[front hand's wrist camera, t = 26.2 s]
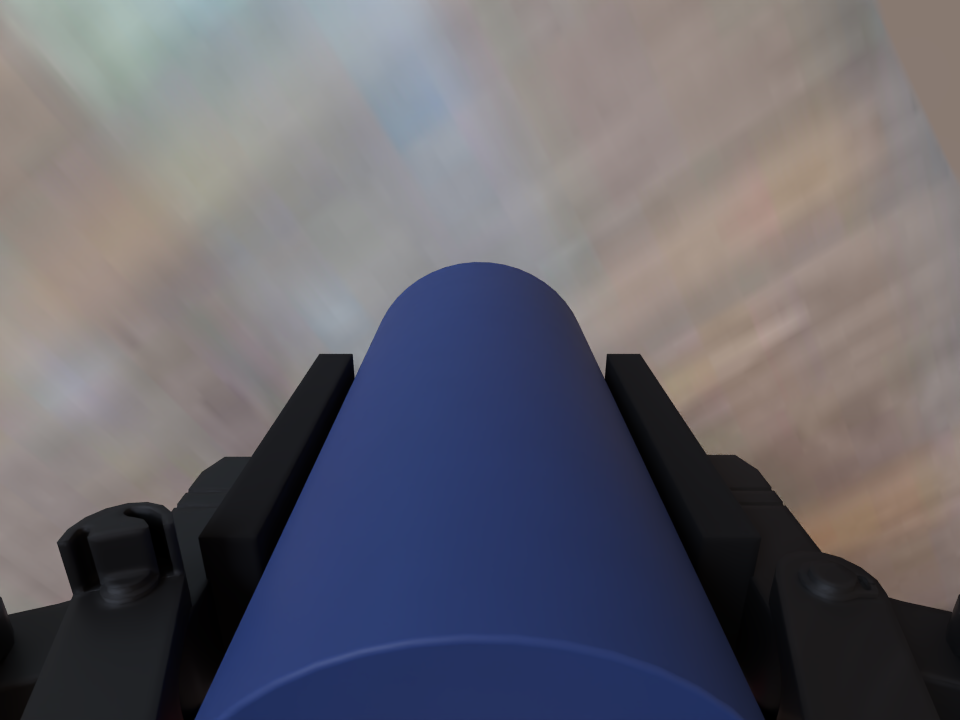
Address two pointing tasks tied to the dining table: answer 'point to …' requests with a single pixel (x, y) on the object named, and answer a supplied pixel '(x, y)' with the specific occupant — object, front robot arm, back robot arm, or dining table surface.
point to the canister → (479, 539)
